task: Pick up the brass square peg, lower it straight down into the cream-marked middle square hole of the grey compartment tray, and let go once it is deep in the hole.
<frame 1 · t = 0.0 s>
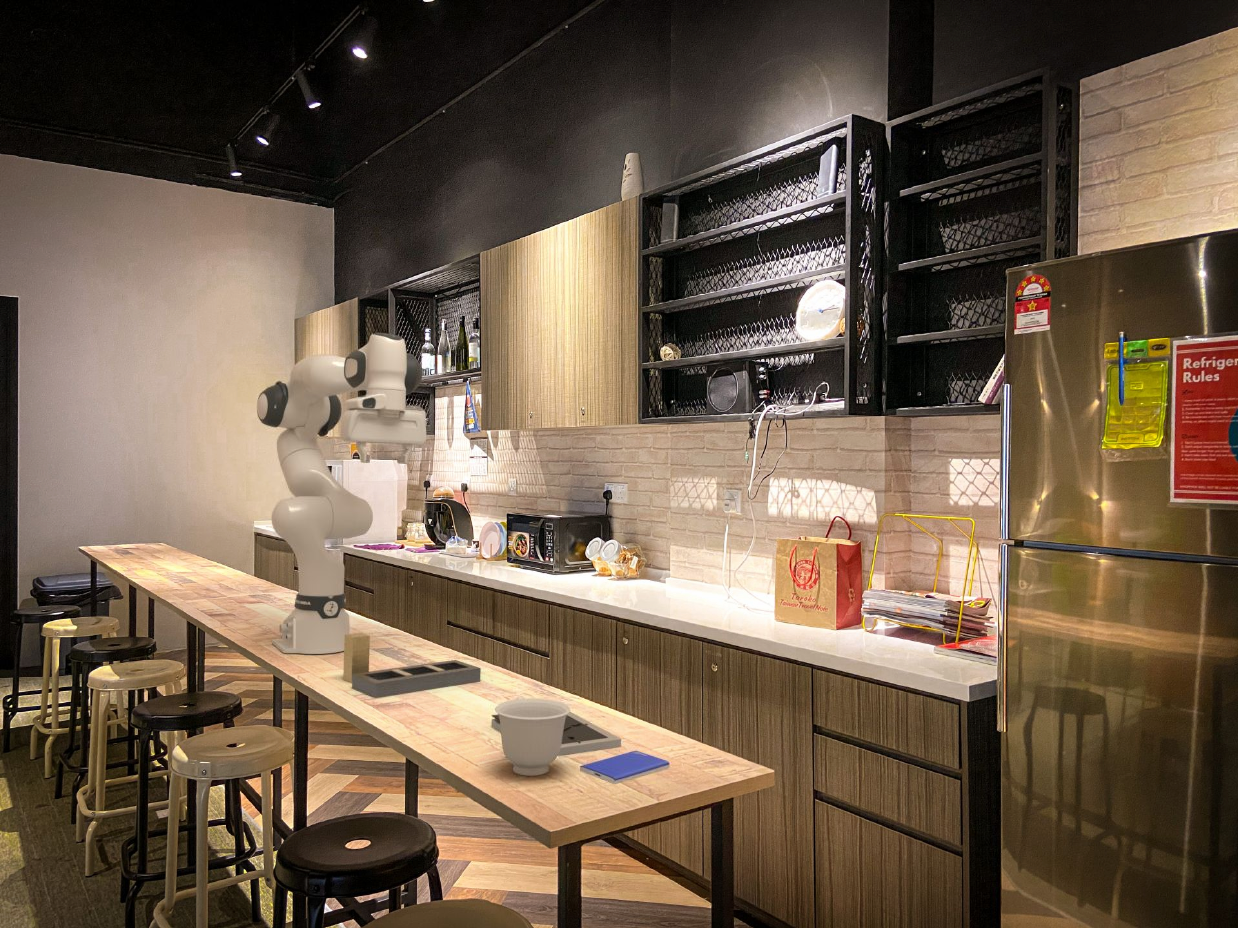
hand: (384, 463, 215), 48 cm above the table, fingers open, 8 cm apart
picture frame: (554, 741, 168), on the table
grey compartment tray: (417, 684, 204), on the table
teacup: (528, 768, 150), on the table
hard drive: (624, 773, 151), on the table
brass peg: (355, 680, 206), on the table
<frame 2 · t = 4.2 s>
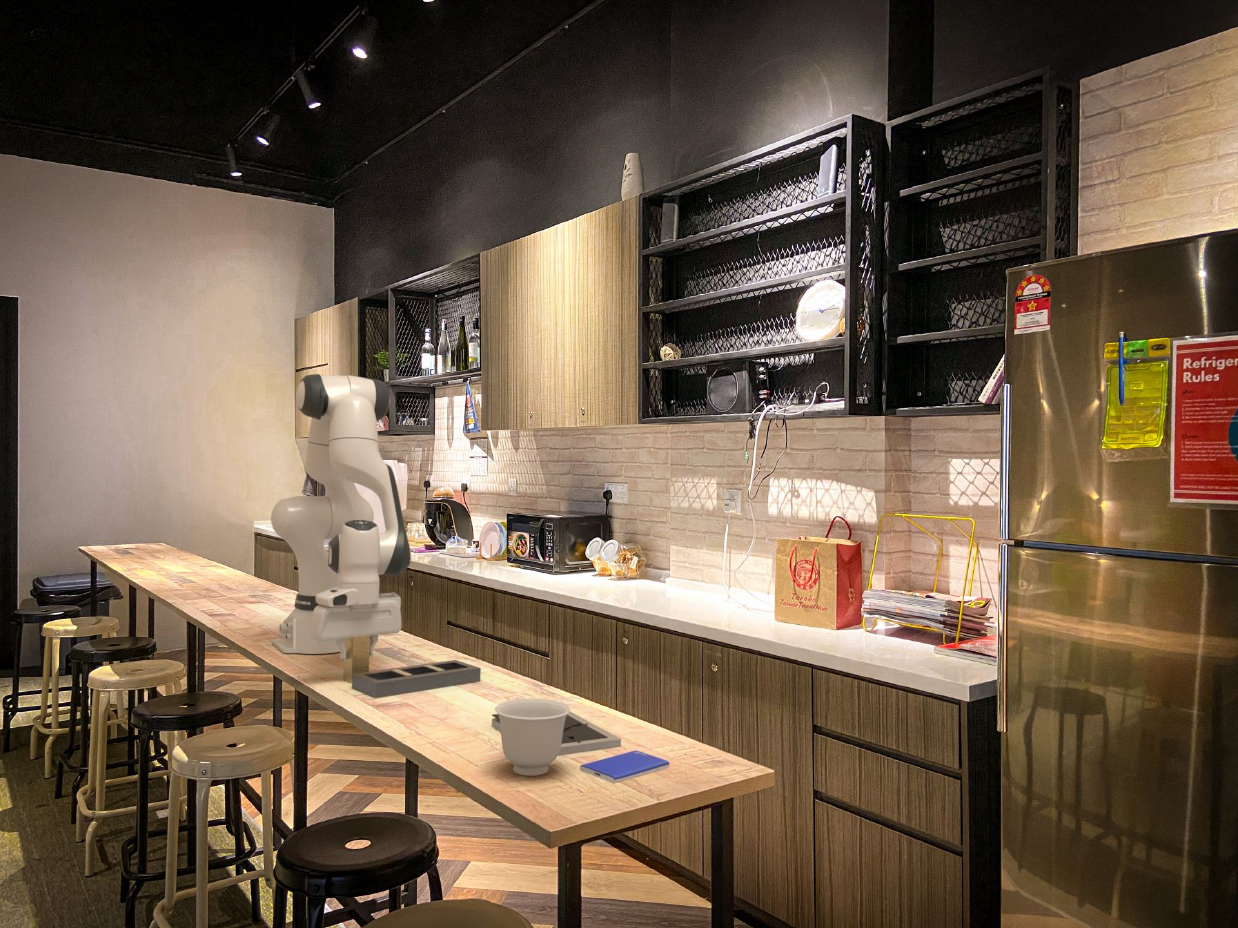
hand: (356, 657, 206), 5 cm above the table, fingers closed on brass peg, 4 cm apart
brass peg: (355, 680, 206), on the table, touching gripper
everything else where it was.
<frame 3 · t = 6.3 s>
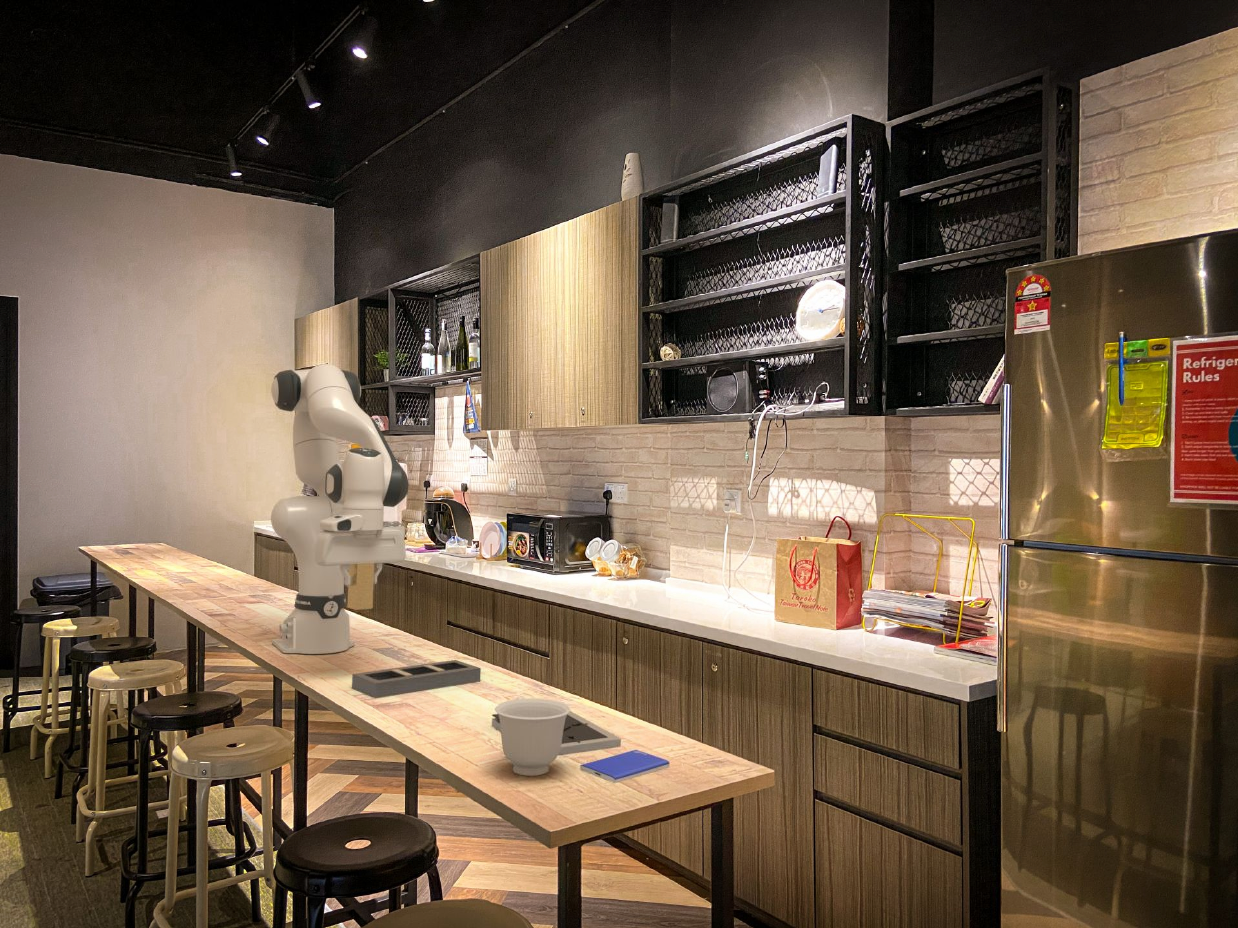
hand: (360, 584, 206), 21 cm above the table, fingers closed on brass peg, 4 cm apart
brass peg: (360, 607, 205), point 16 cm above the table, touching gripper
everything else where it was.
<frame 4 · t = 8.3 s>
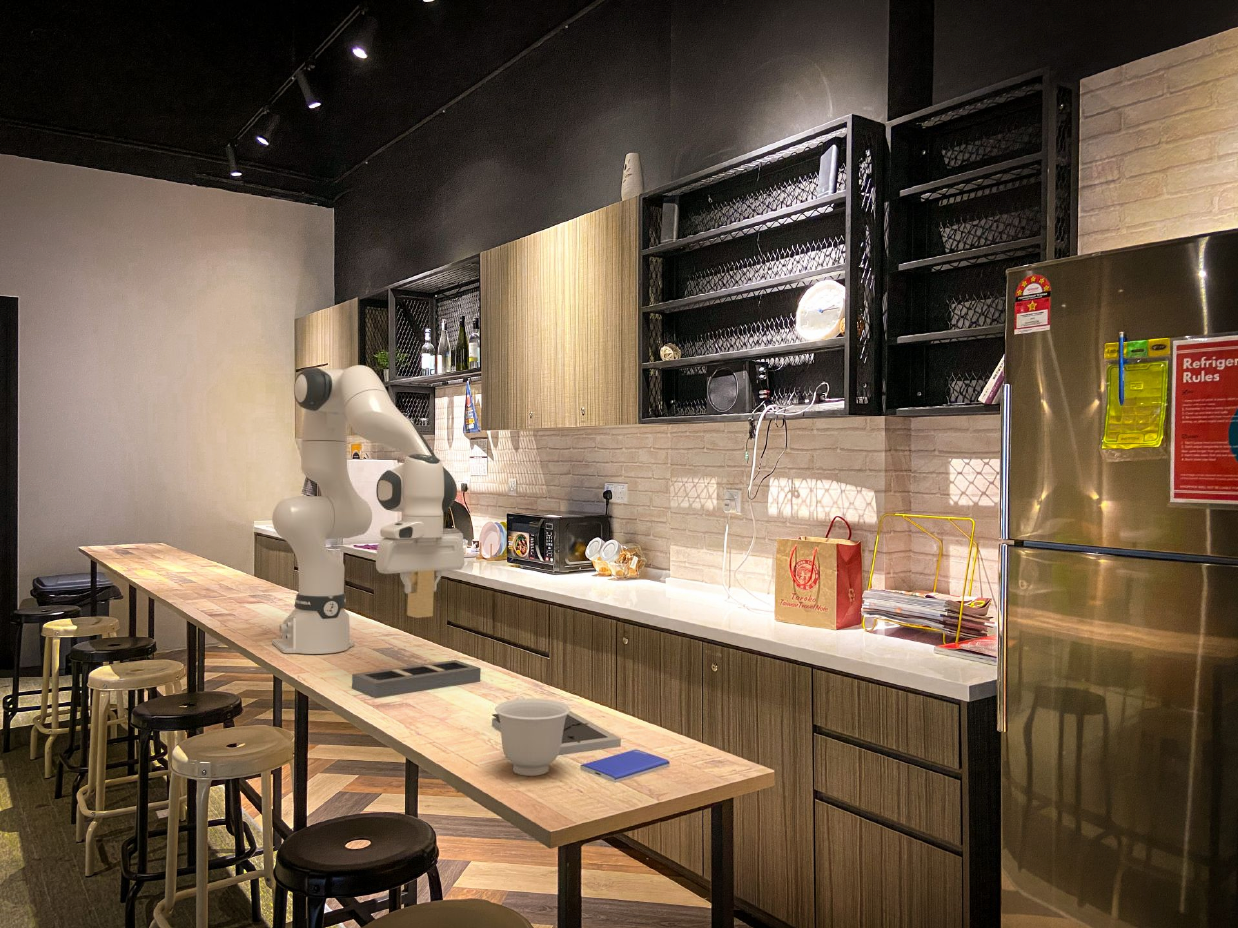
hand: (420, 592, 204), 20 cm above the table, fingers closed on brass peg, 4 cm apart
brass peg: (420, 615, 203), point 15 cm above the table, touching gripper
everything else where it was.
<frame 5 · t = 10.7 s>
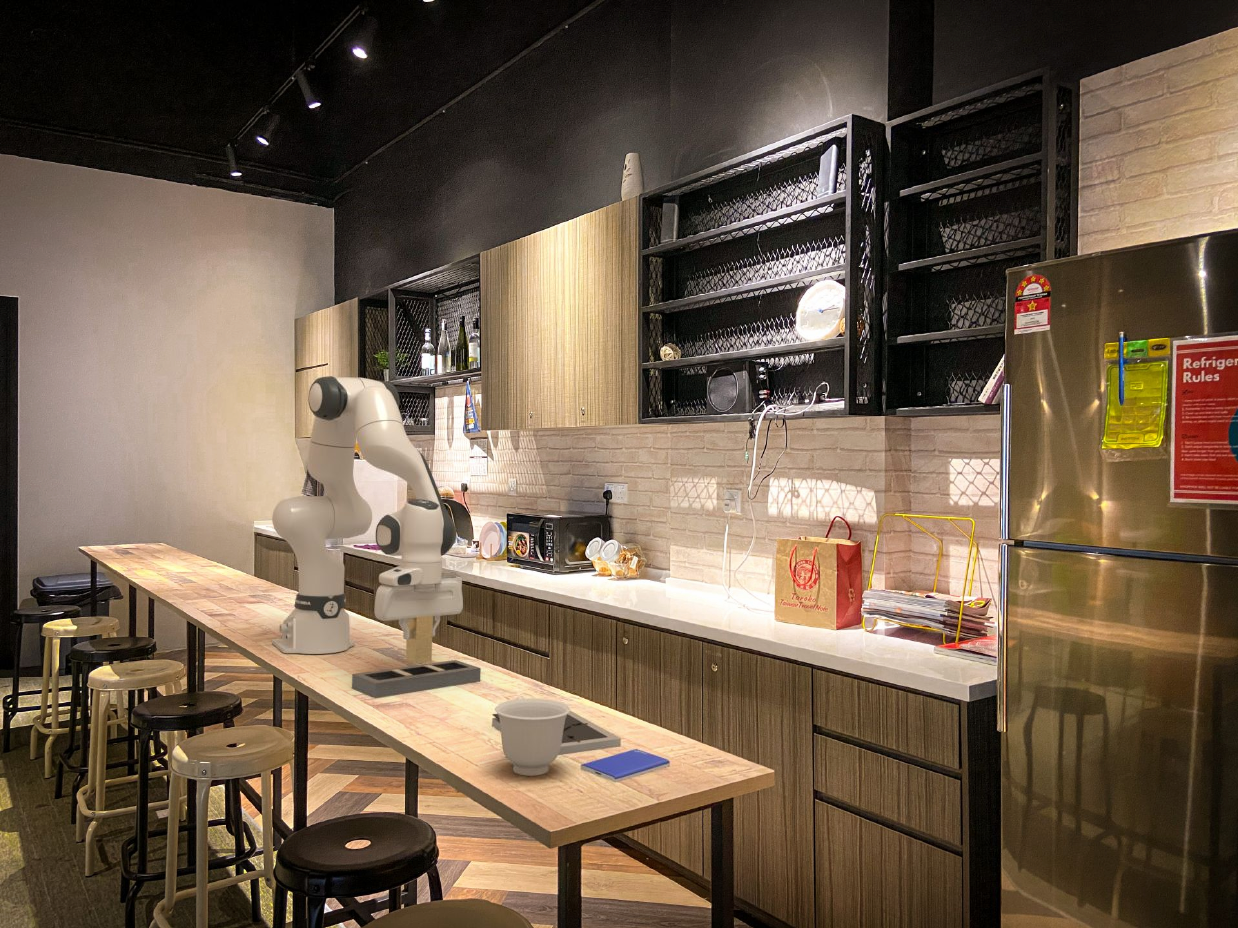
hand: (419, 637, 204), 10 cm above the table, fingers closed on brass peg, 4 cm apart
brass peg: (418, 661, 203), point 5 cm above the table, touching gripper
everything else where it was.
when the fingers open (6 cm above the table, at t = 12.9 s): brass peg stays where it is, resting in grey compartment tray.
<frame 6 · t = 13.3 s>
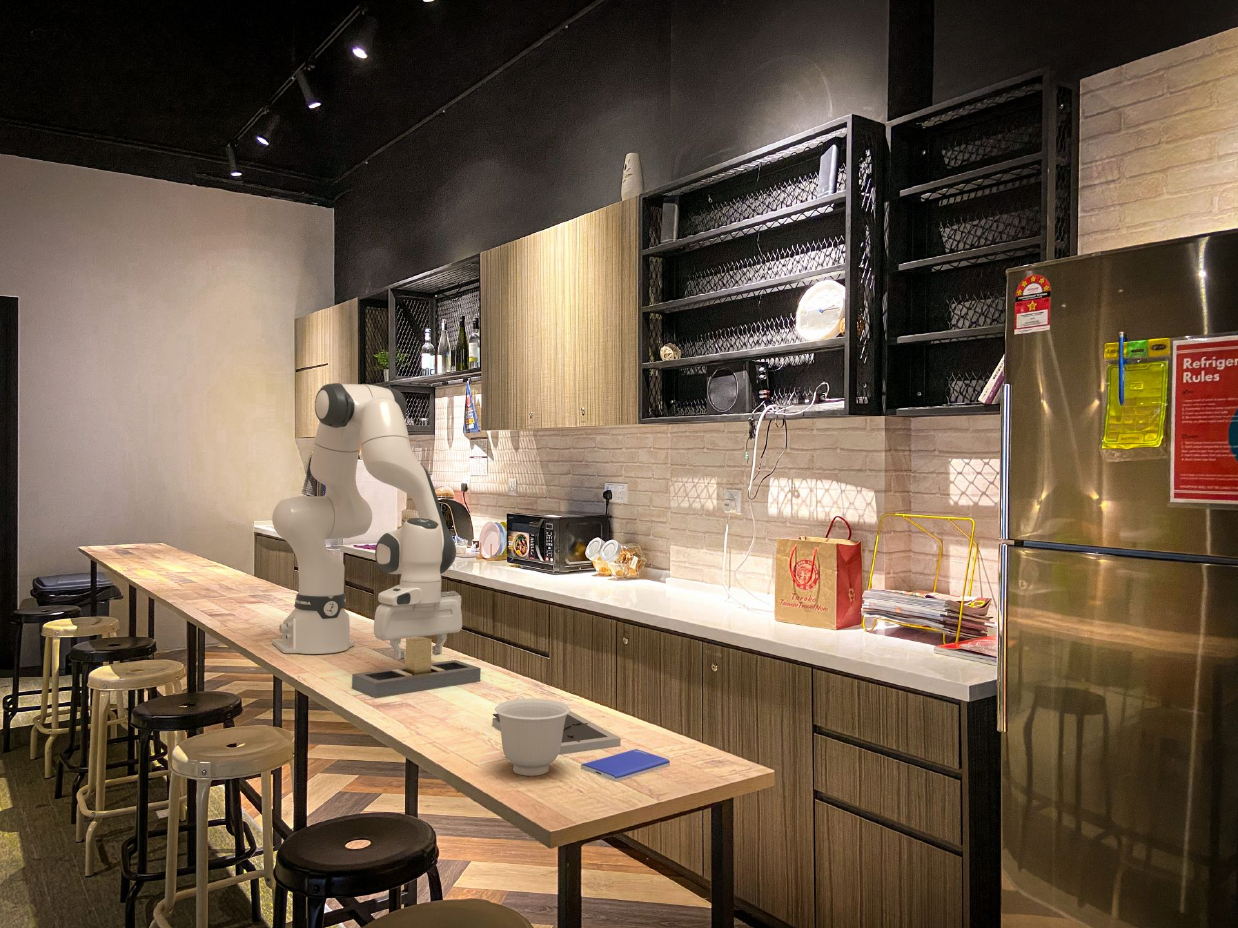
hand: (418, 656, 204), 6 cm above the table, fingers open, 8 cm apart
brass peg: (417, 684, 204), resting in grey compartment tray
everything else where it was.
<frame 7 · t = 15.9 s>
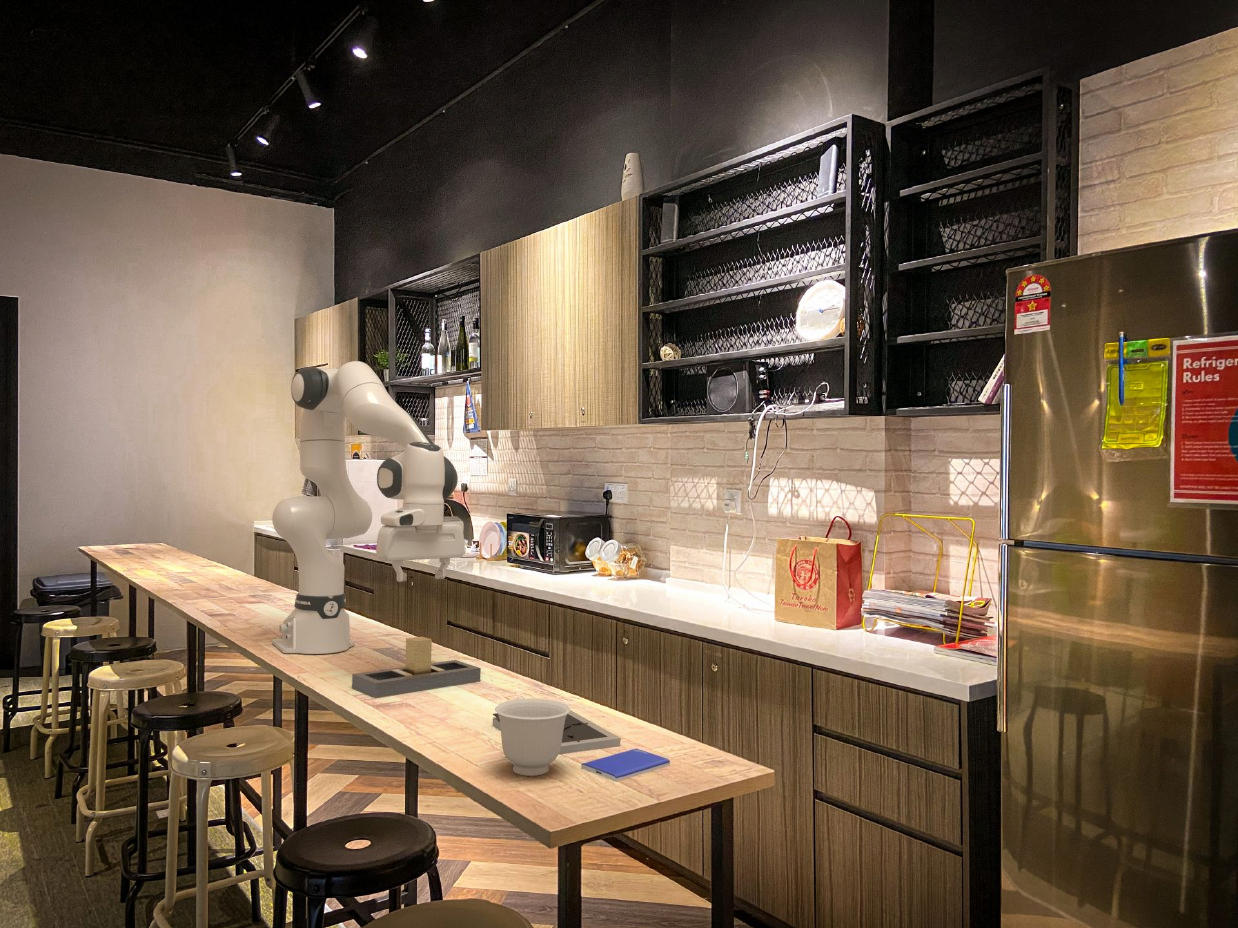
hand: (420, 579, 204), 23 cm above the table, fingers open, 8 cm apart
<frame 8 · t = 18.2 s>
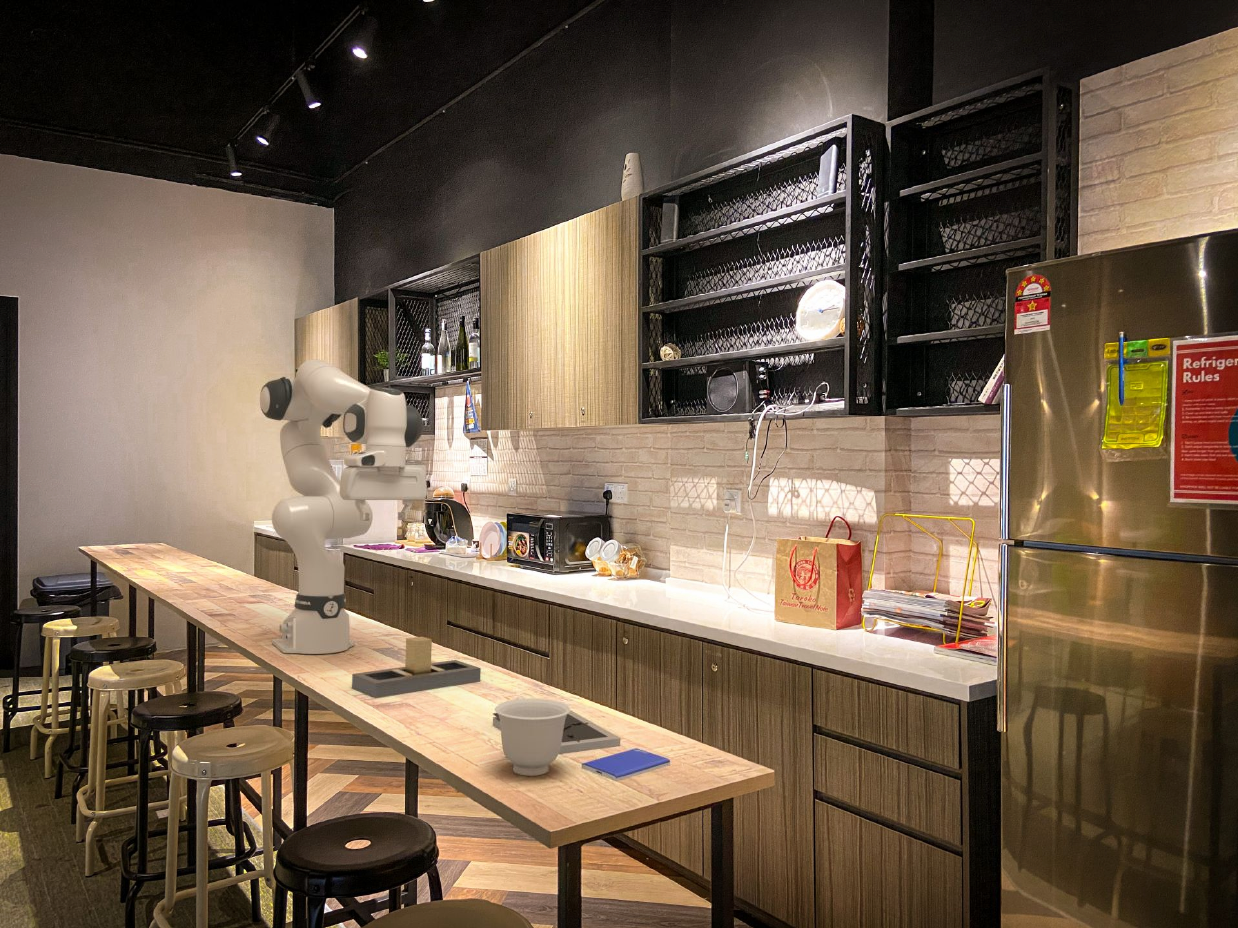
hand: (383, 520, 210), 35 cm above the table, fingers open, 8 cm apart
at the end: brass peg 0.0 cm off-centre on the grey compartment tray, point 0.0 cm above the grey compartment tray's base; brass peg tilted 0°; the gripper is holding nothing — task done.
